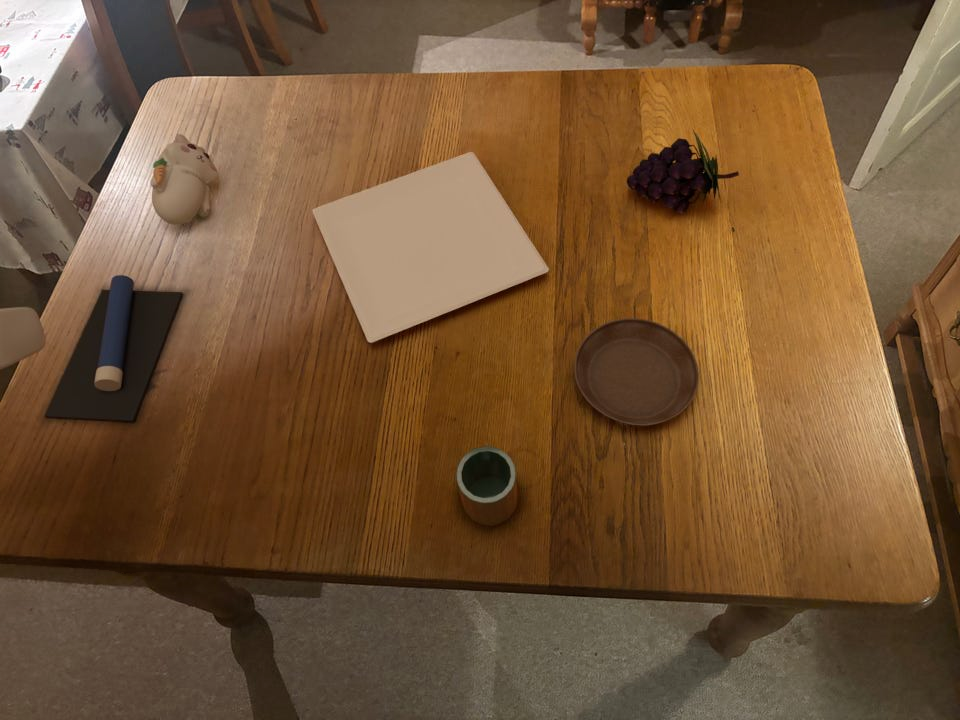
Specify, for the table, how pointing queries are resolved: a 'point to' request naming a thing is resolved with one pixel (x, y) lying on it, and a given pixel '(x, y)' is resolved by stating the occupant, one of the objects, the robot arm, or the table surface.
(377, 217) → the beige flat square slab
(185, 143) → the cat figurine
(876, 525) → the table surface
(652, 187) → the fruit
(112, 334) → the marker
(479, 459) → the pen pot
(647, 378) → the saucer
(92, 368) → the mat
